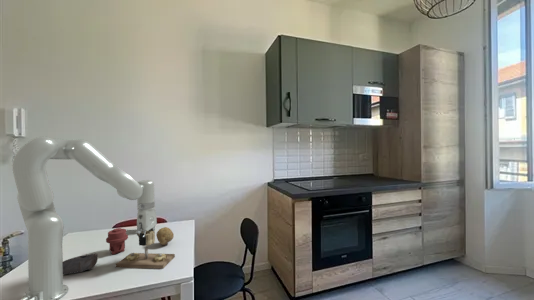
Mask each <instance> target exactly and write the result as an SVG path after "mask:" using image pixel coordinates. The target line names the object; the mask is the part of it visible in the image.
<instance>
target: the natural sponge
mask: <svg viewBox="0 0 534 300" xmlns="http://www.w3.org/2000/svg"><path fill="white" fill-rule="evenodd" d="M155 234H156V235H155V237H156V239H157V241H158V243H159V245H162V246H165V245H167V244H168V243H170V242H171V241H172V240H173V239H174V232H173V230H172V229H171V228H170V227H166V226H164V227H161V228H159V229H158V230H157V232H156V233H155Z"/></svg>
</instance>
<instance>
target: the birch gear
mask: <svg viewBox="0 0 534 300" xmlns="http://www.w3.org/2000/svg"><path fill="white" fill-rule="evenodd" d="M155 231H156V230H155ZM155 231H146V234H145V237H146V245H141V246H142V247H147V246H151V245H153V244H155V243H156V240H155V239H156V235H155V234H156V233H155ZM141 233H142V234H143V232H141Z"/></svg>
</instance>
